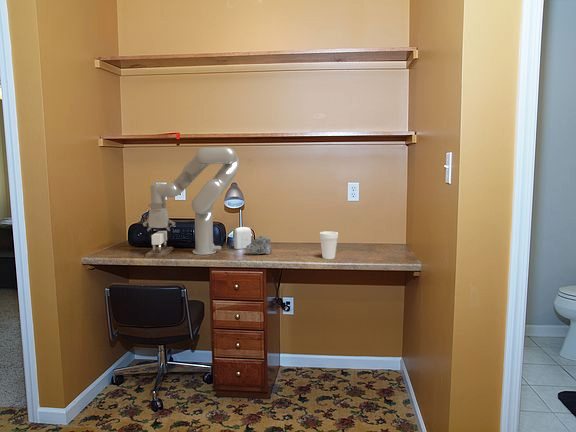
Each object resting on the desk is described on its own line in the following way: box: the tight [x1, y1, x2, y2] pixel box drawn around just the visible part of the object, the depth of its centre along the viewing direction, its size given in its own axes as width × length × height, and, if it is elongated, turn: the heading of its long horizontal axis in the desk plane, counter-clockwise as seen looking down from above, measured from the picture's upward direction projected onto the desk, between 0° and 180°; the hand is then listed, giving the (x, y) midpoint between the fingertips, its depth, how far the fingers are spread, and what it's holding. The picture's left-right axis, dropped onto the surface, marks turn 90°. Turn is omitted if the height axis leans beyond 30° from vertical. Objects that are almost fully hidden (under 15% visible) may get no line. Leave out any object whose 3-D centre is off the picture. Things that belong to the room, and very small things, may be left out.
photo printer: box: [233, 226, 252, 250], centre depth 256 cm, size 10×4×12 cm, turn 123°
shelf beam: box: [151, 230, 168, 246], centre depth 242 cm, size 15×4×5 cm, turn 1°
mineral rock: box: [245, 235, 272, 255], centre depth 240 cm, size 13×11×10 cm
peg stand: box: [145, 240, 174, 258], centre depth 242 cm, size 10×20×6 cm, turn 2°
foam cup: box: [319, 230, 339, 260], centre depth 230 cm, size 10×9×13 cm
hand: (159, 238), depth 242 cm, fingers open, 9 cm apart
